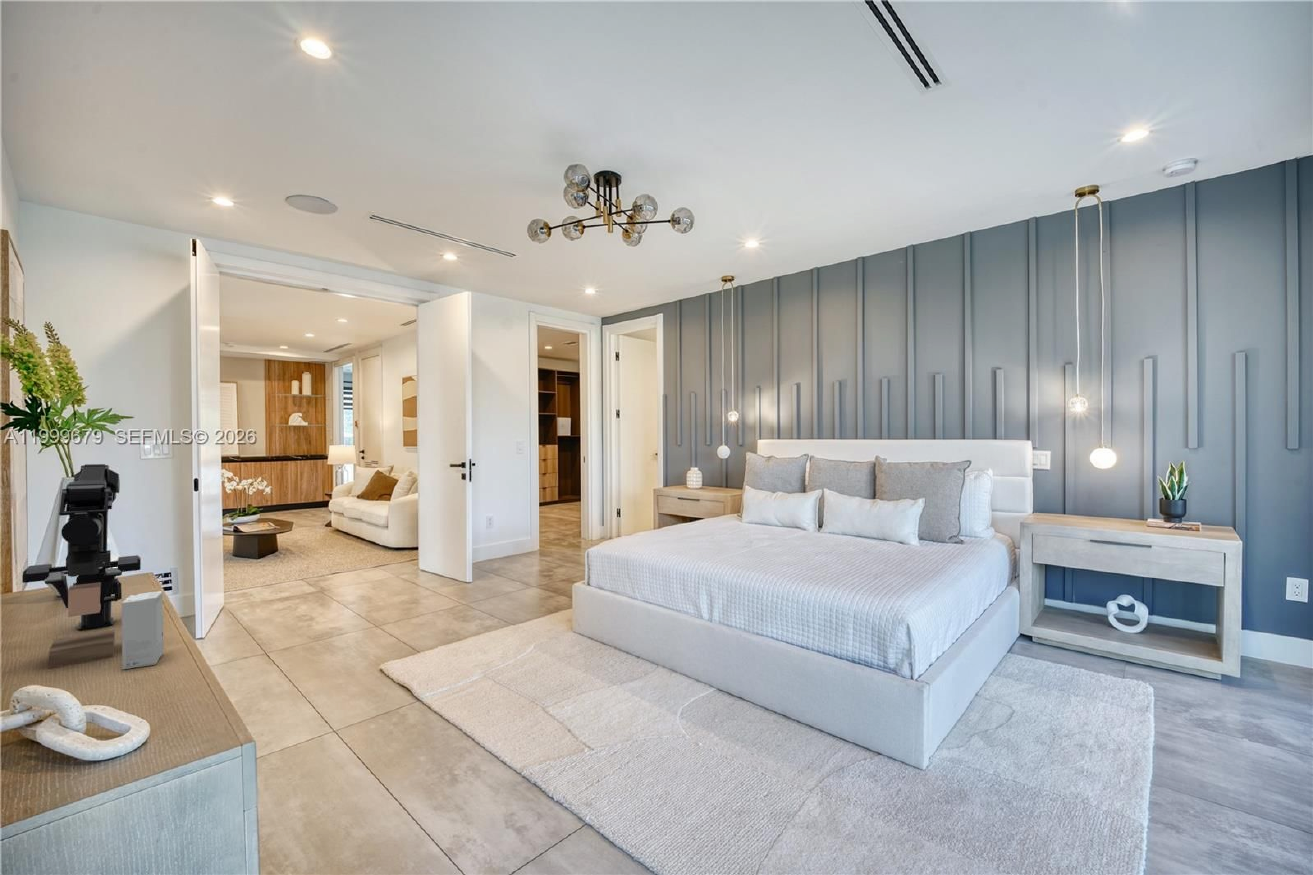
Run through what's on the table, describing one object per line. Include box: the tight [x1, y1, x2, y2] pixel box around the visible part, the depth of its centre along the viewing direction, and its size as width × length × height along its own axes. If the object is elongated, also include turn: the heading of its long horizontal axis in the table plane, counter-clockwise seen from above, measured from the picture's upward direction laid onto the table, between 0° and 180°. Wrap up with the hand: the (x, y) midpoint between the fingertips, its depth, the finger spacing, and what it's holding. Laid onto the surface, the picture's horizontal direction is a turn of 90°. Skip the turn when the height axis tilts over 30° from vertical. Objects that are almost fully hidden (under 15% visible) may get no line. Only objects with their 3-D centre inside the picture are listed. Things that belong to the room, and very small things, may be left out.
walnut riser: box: [48, 629, 116, 669], centre depth 128 cm, size 10×10×4 cm
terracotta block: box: [67, 582, 101, 618], centre depth 128 cm, size 5×5×6 cm
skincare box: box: [121, 590, 164, 670], centre depth 125 cm, size 8×6×15 cm
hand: (84, 605), depth 128 cm, fingers closed on terracotta block, 5 cm apart
